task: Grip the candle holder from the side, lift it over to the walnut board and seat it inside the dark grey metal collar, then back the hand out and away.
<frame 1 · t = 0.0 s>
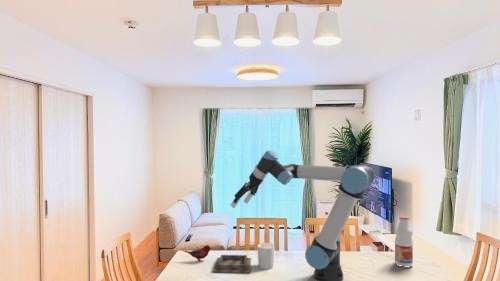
hand: (238, 204, 188), 36 cm above the table, tool tilted 35°, fingers open, 13 cm apart
candle holder: (265, 266, 190), on the table
fruit juice: (403, 264, 192), on the table
decorative bird figurine: (197, 261, 197), on the table
cradle: (232, 265, 190), on the table
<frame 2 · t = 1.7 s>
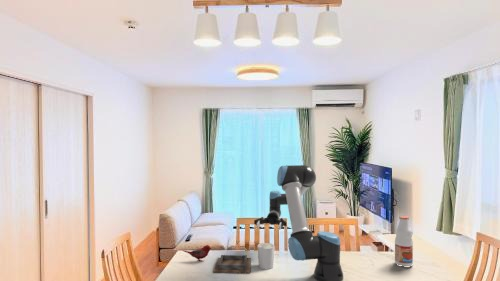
hand: (268, 226, 198), 20 cm above the table, tool horizontal, fingers open, 13 cm apart
nothing on the table moved.
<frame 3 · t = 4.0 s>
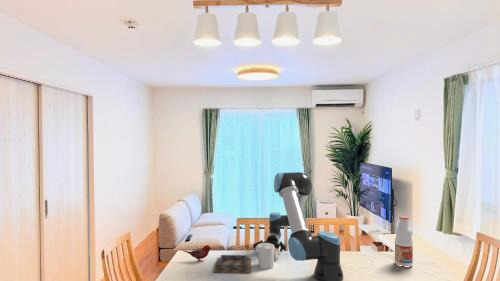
hand: (267, 251, 196), 6 cm above the table, tool horizontal, fingers open, 13 cm apart
nothing on the table moved.
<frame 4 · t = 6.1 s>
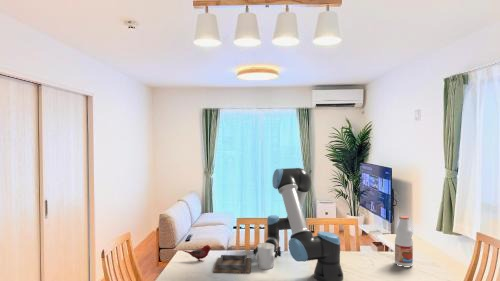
hand: (264, 257, 185), 7 cm above the table, tool horizontal, fingers closed on candle holder, 9 cm apart
candle holder: (265, 266, 190), on the table, touching gripper
everything else where it was.
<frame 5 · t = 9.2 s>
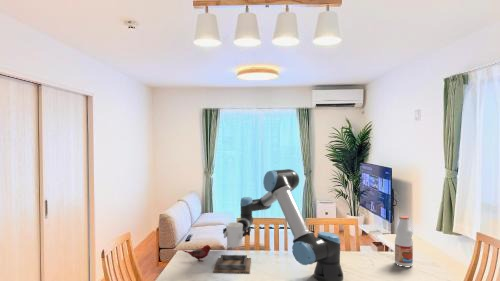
hand: (232, 236, 186), 18 cm above the table, tool horizontal, fingers closed on candle holder, 9 cm apart
candle holder: (234, 245, 191), point 12 cm above the table, touching gripper
everything else where it was.
when the fingers open (9 cm above the table, at t = 12.0 s): candle holder drops 1 cm, resting on cradle.
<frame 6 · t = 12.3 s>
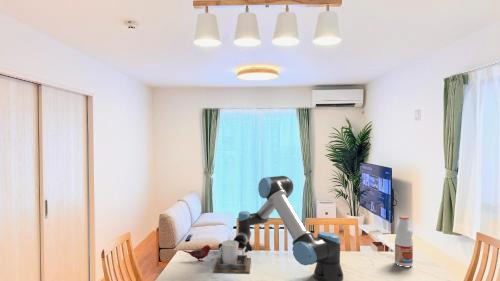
hand: (231, 252, 187), 9 cm above the table, tool horizontal, fingers open, 13 cm apart
candle holder: (229, 263, 191), point 1 cm above the table, touching cradle, gripper
everything else where it was.
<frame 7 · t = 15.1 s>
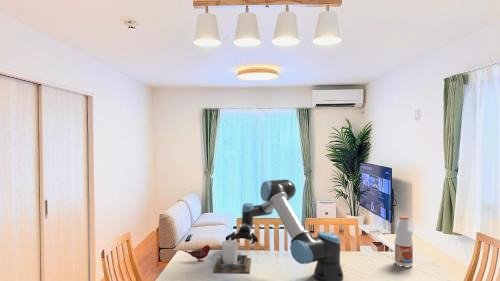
hand: (239, 244, 199), 9 cm above the table, tool horizontal, fingers open, 13 cm apart
candle holder: (229, 263, 191), point 1 cm above the table, touching cradle
everything else where it was.
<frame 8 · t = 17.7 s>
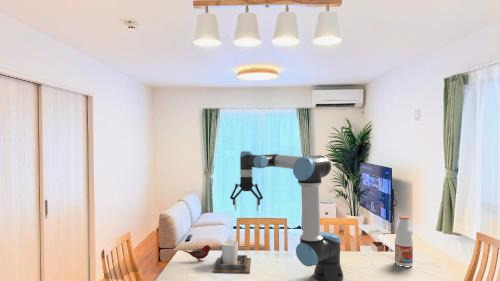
hand: (246, 210, 205), 29 cm above the table, tool pointing down, fingers open, 13 cm apart
nothing on the table moved.
at the end: candle holder 2.1 cm off-centre on the cradle, point 0.8 cm above the cradle's base; candle holder tilted 0°; the gripper is holding nothing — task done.
